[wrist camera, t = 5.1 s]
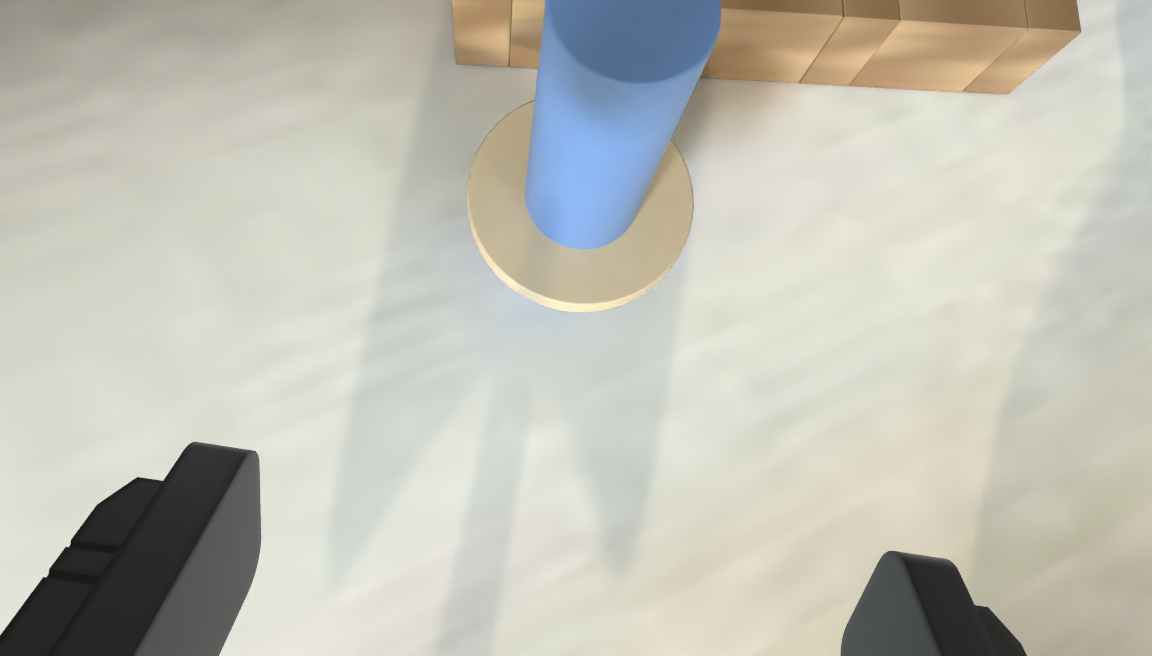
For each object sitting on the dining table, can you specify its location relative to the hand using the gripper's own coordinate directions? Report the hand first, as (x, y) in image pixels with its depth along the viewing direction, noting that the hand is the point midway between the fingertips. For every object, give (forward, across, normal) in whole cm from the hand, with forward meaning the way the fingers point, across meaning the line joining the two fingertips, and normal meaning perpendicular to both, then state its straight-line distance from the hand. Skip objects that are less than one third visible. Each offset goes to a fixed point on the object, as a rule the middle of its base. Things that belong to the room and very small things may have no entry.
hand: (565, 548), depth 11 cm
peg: (+17, 0, +4) cm, 18 cm away
